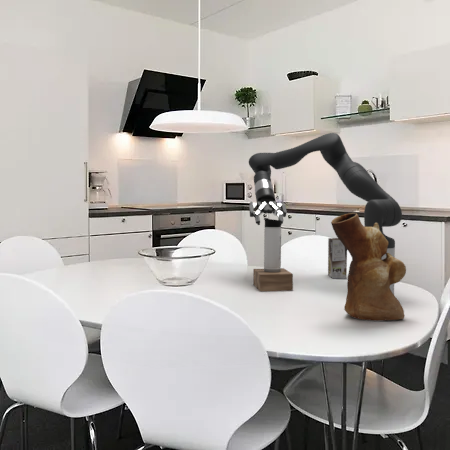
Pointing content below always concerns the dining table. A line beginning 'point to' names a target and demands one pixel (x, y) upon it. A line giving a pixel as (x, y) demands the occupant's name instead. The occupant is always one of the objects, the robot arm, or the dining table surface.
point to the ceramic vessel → (369, 271)
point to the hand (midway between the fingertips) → (270, 223)
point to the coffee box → (337, 258)
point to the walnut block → (273, 280)
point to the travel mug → (272, 245)
